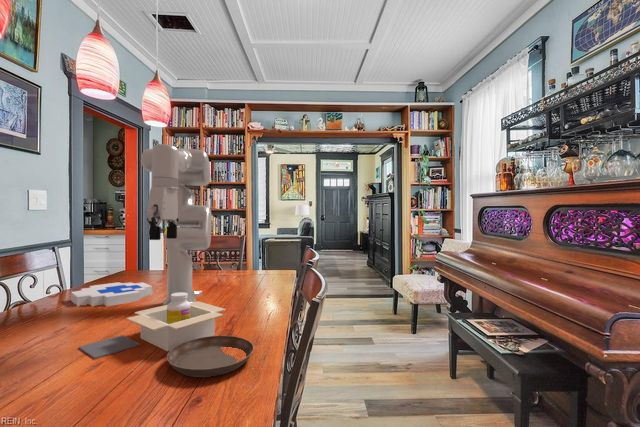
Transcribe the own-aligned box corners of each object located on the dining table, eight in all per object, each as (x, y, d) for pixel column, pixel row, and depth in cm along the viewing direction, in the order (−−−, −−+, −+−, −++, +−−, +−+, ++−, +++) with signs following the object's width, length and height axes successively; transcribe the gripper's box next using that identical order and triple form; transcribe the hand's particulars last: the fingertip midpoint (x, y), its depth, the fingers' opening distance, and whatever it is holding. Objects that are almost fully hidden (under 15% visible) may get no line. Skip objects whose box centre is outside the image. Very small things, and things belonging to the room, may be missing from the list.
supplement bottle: (181, 341, 93) (181, 297, 93) (161, 339, 94) (161, 296, 94) (194, 333, 99) (195, 292, 99) (175, 331, 100) (176, 290, 101)
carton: (190, 319, 113) (191, 299, 113) (233, 333, 99) (234, 311, 99) (119, 339, 94) (120, 315, 94) (160, 360, 80) (161, 333, 80)
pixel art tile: (137, 279, 160) (159, 289, 142) (137, 287, 160) (159, 298, 142) (67, 288, 140) (82, 301, 121) (67, 297, 140) (81, 311, 121)
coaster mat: (122, 336, 96) (122, 334, 96) (140, 345, 90) (140, 343, 90) (78, 348, 87) (78, 346, 87) (95, 359, 81) (95, 357, 81)
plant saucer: (223, 340, 95) (223, 328, 95) (270, 360, 82) (270, 347, 82) (151, 364, 79) (151, 351, 79) (195, 394, 66) (195, 378, 66)
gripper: (167, 187, 109) (166, 238, 108) (136, 180, 92) (134, 240, 91) (189, 187, 109) (188, 238, 108) (161, 180, 91) (160, 240, 91)
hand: (163, 239), depth 100 cm, fingers open, 9 cm apart
